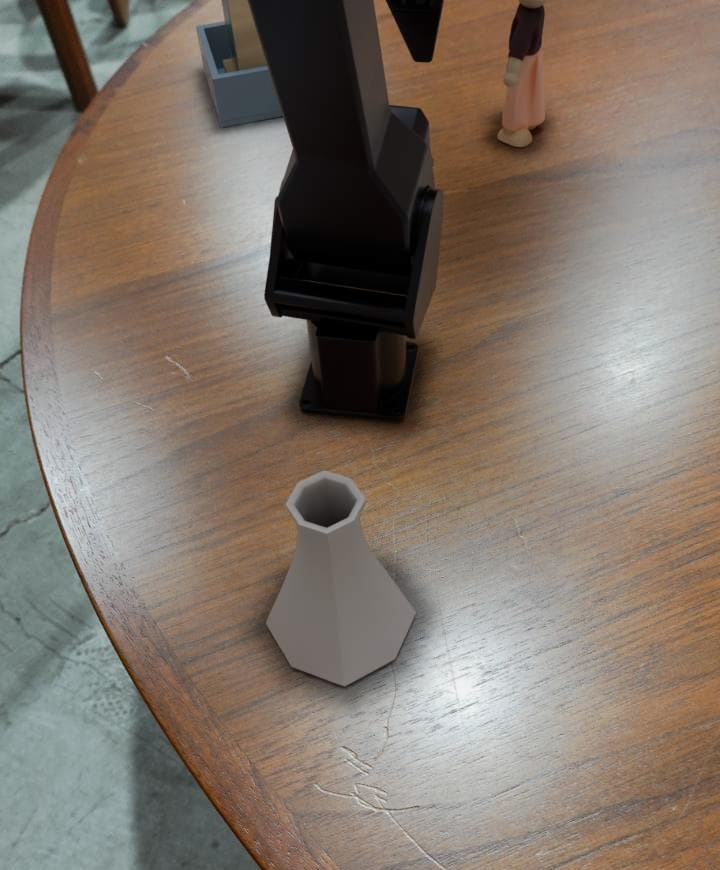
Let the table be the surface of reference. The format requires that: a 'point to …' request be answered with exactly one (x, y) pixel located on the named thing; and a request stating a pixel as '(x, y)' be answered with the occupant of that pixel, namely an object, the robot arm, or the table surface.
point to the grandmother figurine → (524, 75)
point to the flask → (336, 588)
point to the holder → (235, 82)
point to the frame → (241, 37)
